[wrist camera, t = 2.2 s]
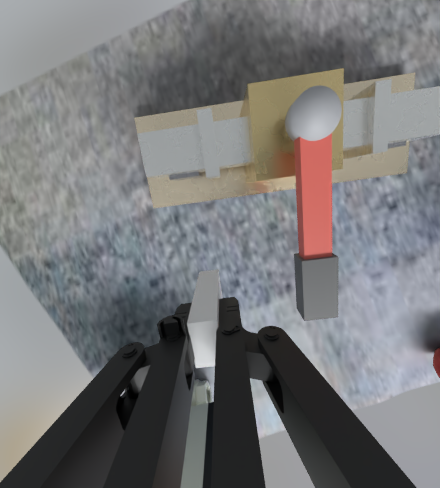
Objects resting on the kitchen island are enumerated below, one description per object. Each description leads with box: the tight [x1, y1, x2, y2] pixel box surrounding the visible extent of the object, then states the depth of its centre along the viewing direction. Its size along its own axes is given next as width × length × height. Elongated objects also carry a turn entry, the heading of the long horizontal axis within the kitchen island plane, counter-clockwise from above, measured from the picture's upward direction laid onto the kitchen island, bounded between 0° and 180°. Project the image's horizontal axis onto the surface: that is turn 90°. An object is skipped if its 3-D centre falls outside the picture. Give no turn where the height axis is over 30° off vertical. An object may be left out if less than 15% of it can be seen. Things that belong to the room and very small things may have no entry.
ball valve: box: [180, 379, 214, 488], centre depth 27 cm, size 18×8×18 cm, turn 105°
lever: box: [285, 85, 342, 321], centre depth 16 cm, size 16×3×2 cm, turn 8°
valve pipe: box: [134, 68, 440, 208], centre depth 21 cm, size 30×10×11 cm, turn 98°
